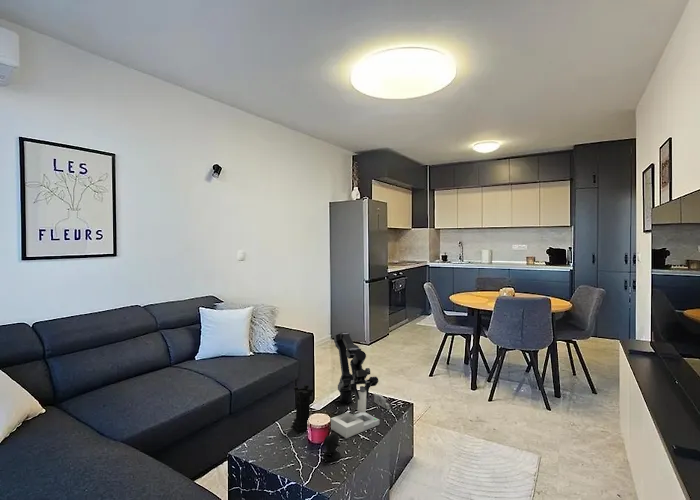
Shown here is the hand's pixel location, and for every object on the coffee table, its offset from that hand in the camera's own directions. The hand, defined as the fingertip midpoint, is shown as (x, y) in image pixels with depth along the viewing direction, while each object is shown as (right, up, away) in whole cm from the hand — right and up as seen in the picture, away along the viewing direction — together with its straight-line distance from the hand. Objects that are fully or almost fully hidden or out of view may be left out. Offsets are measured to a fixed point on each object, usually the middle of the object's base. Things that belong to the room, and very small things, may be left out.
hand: (363, 398), depth 193 cm
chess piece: (-30, -13, -5) cm, 33 cm away
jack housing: (-4, -13, -1) cm, 14 cm away
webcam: (-14, -14, -29) cm, 35 cm away
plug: (-1, -7, +2) cm, 7 cm away
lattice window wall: (+11, -14, +24) cm, 30 cm away
